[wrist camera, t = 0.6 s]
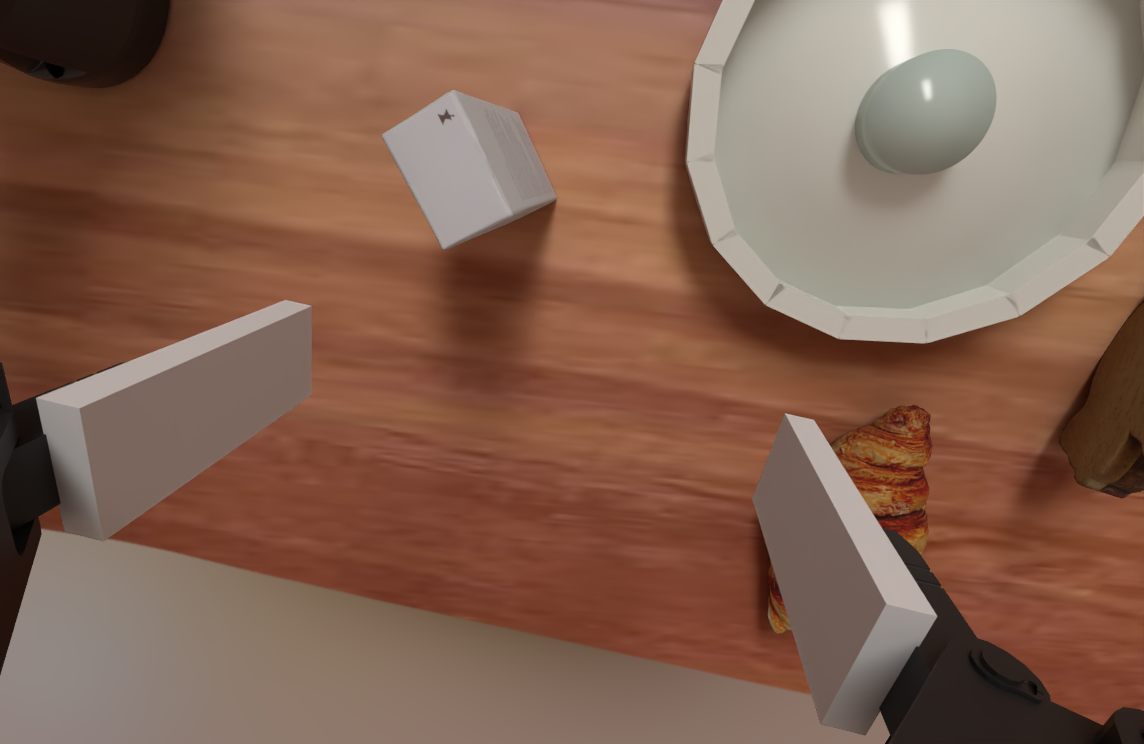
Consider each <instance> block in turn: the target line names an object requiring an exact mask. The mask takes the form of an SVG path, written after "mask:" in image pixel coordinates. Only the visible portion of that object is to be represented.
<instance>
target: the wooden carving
mask: <svg viewBox="0 0 1144 744" xmlns="http://www.w3.org/2000/svg"><path fill="white" fill-rule="evenodd" d="M1059 444H1060V445H1061V446H1062V448H1063V450H1064V451H1065V452H1066V453H1067V455H1068V458H1069V462H1070V464H1071V466H1072V467H1073V469H1074V472H1075V475H1074V478H1075V480H1076V482H1077V483H1078V484H1080V485H1082V486H1084V487H1087V488H1090V489H1094V490H1098V491H1101V492H1103V493H1106V494H1109V495H1113V496H1116V497H1119V498H1125V497H1126V496H1128V495H1130V494H1131V493H1135V492H1141V491H1143V490H1144V301H1143V303H1142V304H1141V305H1140V306H1139V307H1138V308H1137V309H1136V310H1135V311H1134V313H1133V314H1132V315H1131V316H1130V317H1129V319H1128V320H1127V321H1126V322H1125V323H1124V325H1123V326H1122V328H1121V329H1120V330H1119V331H1118V333H1117V335H1116V336H1115V338H1114V339H1113V341H1112V342H1111V344H1110V345H1109V347H1108V348H1107V350H1106V352H1105V354H1104V355H1103V357H1102V359H1101V361H1100V363H1099V366H1098V368H1097V370H1096V372H1095V375H1094V378H1093V381H1092V385H1091V389H1090V393H1089V396H1088V399H1087V402H1086V404H1085V406H1084V407H1083V408H1082V409H1081V410H1080V411H1079V412H1077V413H1076V415H1075V416H1074V417H1073V418H1072V419H1071V420H1070V421H1069V422H1068V423H1067V425H1066V428H1065V429H1064V430H1063V432H1062V434H1061V436H1060V438H1059Z"/></svg>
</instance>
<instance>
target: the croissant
mask: <svg viewBox="0 0 1144 744" xmlns="http://www.w3.org/2000/svg"><path fill="white" fill-rule="evenodd" d="M929 422H930V414H929V413H928V412H926V411H925V410H924V409H922V408H919V407H918V406H916V405H912V406H908V407H906V406H899V407H897V408H896V409H893V408H891V409H890V410H889V411H888V412H886V413H885V414H884V415H883V416H882V417H881V418H879V419H877V420H876V421H875V422H874V423H873V424H871V425H870V426H865V427H861V428H858V429H857V430H853V431H850V432H848V433H846V434H845V435H843V436H842V437H841V438H839V439H838V440H837V441H836V442H835V443H833V444H832V446H831V448H832V450H833V451H834V453H835V454H836V456H837V458H838V459H839V461H840V462H841V464H842V466H843V467H844V469H845V470H846V472H847V473H848V475H849V477H850V478H851V480H852V481H853V483H854V485H855V486H856V488H857V489H858V491H859V493H860V494H861V496H862V497H863V499H864V500H865V502H866V504H867V505H868V507H869V508H870V510H871V512H872V513H873V515H874V516H875V518H876V520H877V521H878V523H879V524H880V526H881V528H884V529H889V530H893V531H896V532H897V533H899V534H900V535H901V536H902V537H903V538H904V539H905V540H906V541H908V542H909V543H910V544H911V545H912V546H913V547H914V548H915V549H917V551H918V552H919V554H920V555H921V554H922V551H923V549H924V548H925V546H926V541H927V537H928V532H929V530H928V520H927V515H926V512H925V506H926V501H927V498H928V495H929V486H928V483H927V480H926V478H925V474H924V471H923V467H924V466H925V465H926V464H927V462H928V460H929V459H930V457H931V452H932V443H931V438H930V425H929ZM768 582H769V588H770V593H769V596H768V603H769V604H768V618H769V622H770V625H771V626H772V628H773V630H774V631H775V632H776V633H783V632H785V631H786V630H787V629H788V630H792V629H791V625H790V622H789V619H788V615H787V612H786V609H785V605H784V602H783V599H782V596H781V592H780V589H779V586H778V582H777V579H776V576H775V572H774V569H773V566H772V563H771V566H770V568H769V573H768Z"/></svg>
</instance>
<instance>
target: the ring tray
mask: <svg viewBox="0 0 1144 744" xmlns="http://www.w3.org/2000/svg"><path fill="white" fill-rule="evenodd" d="M685 162H687V163H685V166H686V169H687V172H688V175H689V178H690V182H691V185H692V188H693V191H694V195H695V200H696V203H697V205H698V208H699V210H700V214H701V217H702V220H703V223H704V226H705V229H706V233H707V236H708V239H709V241H710V242H711V244H712V245H713V246H714V247H715V248H716V250H717V251H718V252H719V253H720V254H721V255H722V256H723V258H724V259H725V260H726V261H727V262H728V263H729V264H730V266H731V267H732V268H733V269H734V270H735V271H736V272H737V274H738V275H739V276H740V277H741V278H742V279H743V280H744V282H745V283H746V284H747V285H748V286H749V287H750V288H751V289H752V291H753V292H754V293H755V294H756V295H757V296H758V297H759V299H760V300H761V301H762V302H763V303H764V304H765V305H766V306H768V307H770V308H772V309H775V310H777V311H779V312H781V313H783V314H785V315H788V316H790V317H792V318H794V319H796V320H799V321H801V322H803V323H805V324H807V325H809V326H812V327H814V328H816V329H818V330H820V331H822V332H825V333H827V334H829V335H831V336H833V337H835V338H839V339H848V340H867V341H887V342H906V343H930V342H933V341H937V340H940V339H944V338H947V337H950V336H954V335H957V334H961V333H964V332H968V331H971V330H975V329H978V328H982V327H985V326H988V325H992V324H995V323H999V322H1002V321H1006V320H1009V319H1013V318H1016V317H1019V316H1021V315H1023V314H1024V313H1026V312H1027V311H1029V310H1030V309H1032V308H1033V307H1035V306H1036V305H1038V304H1039V303H1041V302H1042V301H1044V300H1045V299H1047V298H1048V297H1050V296H1051V295H1053V294H1054V293H1056V292H1057V291H1059V290H1061V289H1062V288H1064V287H1065V286H1067V285H1068V284H1070V283H1071V282H1073V281H1074V280H1076V279H1077V278H1079V277H1080V276H1082V275H1083V274H1085V273H1086V272H1088V271H1089V270H1091V269H1092V268H1094V267H1095V266H1097V265H1098V264H1100V263H1101V262H1103V261H1104V260H1106V259H1107V258H1109V257H1108V256H1111V255H1112V254H1113V252H1114V251H1115V250H1116V249H1117V248H1118V246H1119V245H1120V244H1121V243H1122V242H1123V240H1124V239H1125V238H1126V237H1127V236H1128V234H1129V233H1130V232H1131V231H1132V229H1133V228H1134V227H1135V226H1136V225H1137V223H1138V222H1139V221H1140V220H1141V219H1142V217H1143V216H1144V0H723V1H722V3H721V6H720V8H719V10H718V12H717V14H716V17H715V19H714V21H713V23H712V26H711V28H710V30H709V32H708V34H707V37H706V39H705V41H704V43H703V46H702V48H701V50H700V52H699V54H698V57H697V59H696V61H695V63H694V66H693V69H692V75H691V87H690V100H689V111H688V118H687V138H686V151H685Z"/></svg>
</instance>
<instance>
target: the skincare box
mask: <svg viewBox="0 0 1144 744" xmlns="http://www.w3.org/2000/svg"><path fill="white" fill-rule="evenodd" d="M382 138H383V140H384V142H385V144H386V145H387V147H388V149H389V151H390V153H391V155H392V157H393V159H394V160H395V162H396V164H397V166H398V168H399V170H400V172H401V174H402V175H403V177H404V179H405V181H406V183H407V185H408V186H409V188H410V190H411V192H412V194H413V196H414V197H415V199H416V201H417V203H418V205H419V206H420V208H421V210H422V212H423V214H424V215H425V217H426V219H427V221H428V223H429V225H430V227H431V228H432V230H433V232H434V234H435V236H436V238H437V240H438V241H439V243H440V245H441V248H442V249H443V250H447V249H450V248H452V247H454V246H457V245H459V244H462V243H464V242H466V241H469V240H471V239H473V238H476V237H478V236H480V235H482V234H485V233H487V232H490V231H492V230H495V229H497V228H499V227H502V226H505V225H507V224H509V223H511V222H513V221H515V220H517V219H519V218H521V217H524V216H526V215H528V214H530V213H532V212H534V211H536V210H538V209H540V208H542V207H544V206H546V205H548V204H550V203H552V202H554V201H555V200H556V199H557V197H556V195H555V192H554V190H553V188H552V186H551V184H550V181H549V179H548V177H547V175H546V173H545V170H544V168H543V166H542V164H541V162H540V159H539V157H538V155H537V153H536V151H535V148H534V146H533V144H532V142H531V140H530V138H529V135H528V133H527V131H526V129H525V127H524V124H523V122H522V120H521V118H520V116H519V114H518V112H515V111H512V110H509V109H506V108H503V107H500V106H497V105H495V104H492V103H489V102H486V101H483V100H480V99H477V98H474V97H471V96H468V95H466V94H463V93H460V92H457V91H454V90H451V91H450V92H448V93H446V94H445V95H443V96H442V97H440V98H439V99H437V100H436V101H434V102H433V103H431V104H429V105H428V106H426V107H425V108H423V109H422V110H420V111H418V112H417V113H415V114H414V115H412V116H411V117H409V118H407V119H406V120H404V121H403V122H401V123H400V124H398V125H396V126H395V127H393V128H392V129H390V130H388V131H387V132H385V133H384V134H382Z"/></svg>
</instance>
